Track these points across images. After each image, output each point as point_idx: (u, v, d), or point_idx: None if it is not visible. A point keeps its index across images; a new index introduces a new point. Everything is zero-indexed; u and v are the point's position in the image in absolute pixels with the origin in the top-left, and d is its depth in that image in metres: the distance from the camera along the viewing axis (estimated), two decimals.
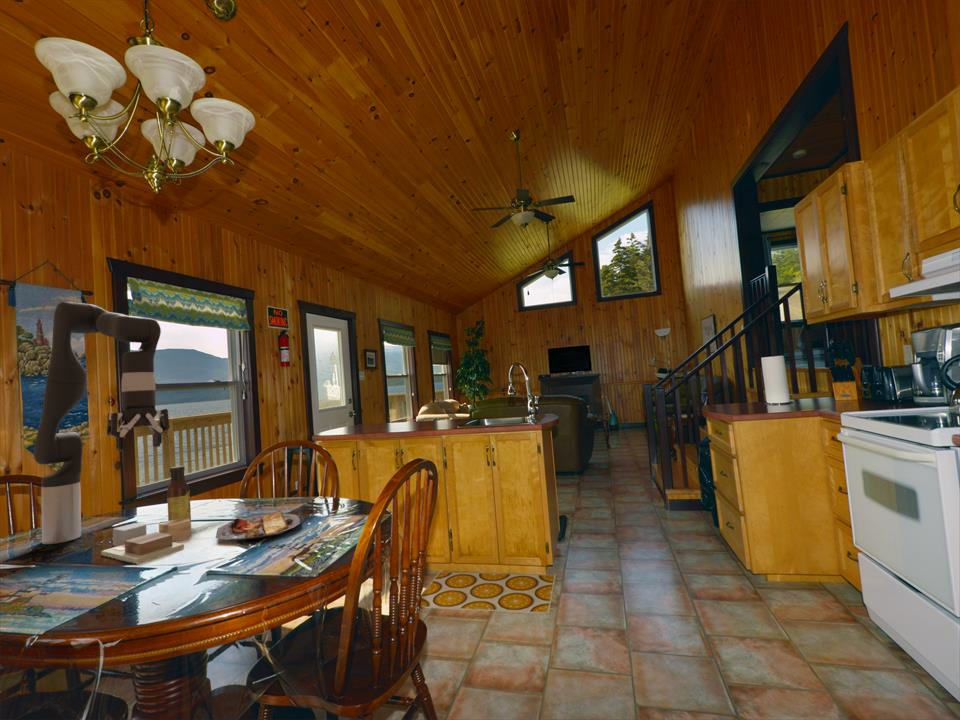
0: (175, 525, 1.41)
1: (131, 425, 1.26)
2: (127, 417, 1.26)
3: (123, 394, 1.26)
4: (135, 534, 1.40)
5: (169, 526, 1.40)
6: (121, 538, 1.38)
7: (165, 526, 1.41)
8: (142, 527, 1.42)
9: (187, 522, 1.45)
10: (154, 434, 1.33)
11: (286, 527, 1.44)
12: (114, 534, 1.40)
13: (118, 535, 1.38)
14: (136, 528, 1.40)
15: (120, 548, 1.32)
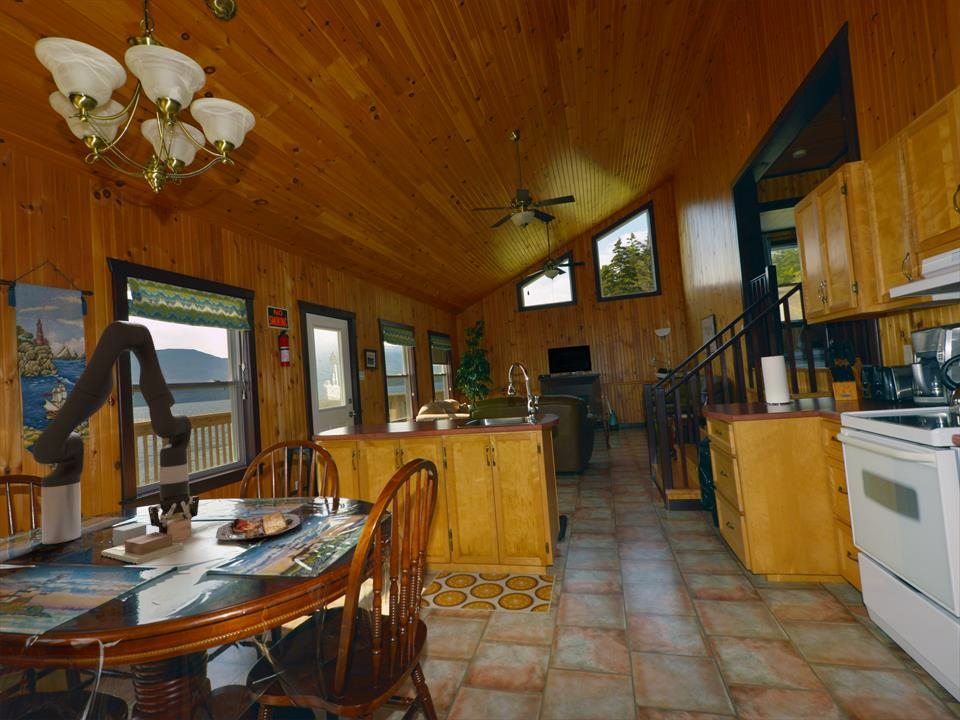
0: (175, 525, 1.41)
1: (168, 514, 1.41)
2: (165, 507, 1.41)
3: (161, 486, 1.41)
4: (135, 534, 1.40)
5: (169, 526, 1.40)
6: (121, 538, 1.38)
7: None
8: (142, 527, 1.42)
9: (187, 522, 1.45)
10: None
11: (286, 527, 1.44)
12: (114, 534, 1.40)
13: (118, 535, 1.38)
14: (136, 528, 1.40)
15: (120, 548, 1.32)
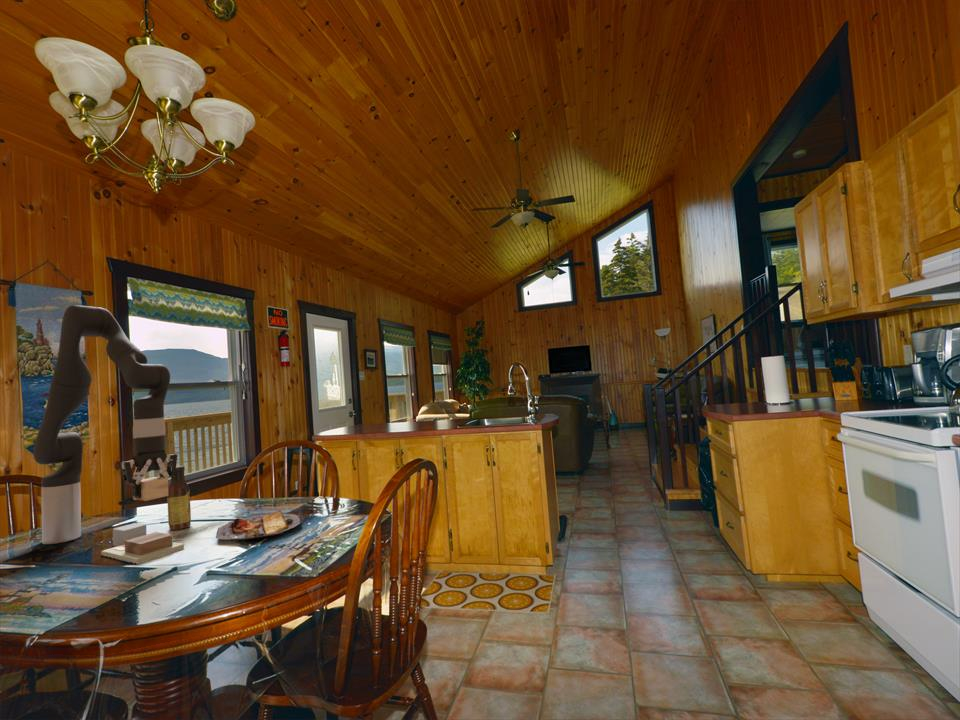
0: (150, 482, 1.30)
1: (143, 470, 1.30)
2: (139, 463, 1.29)
3: (135, 440, 1.30)
4: (135, 534, 1.40)
5: (144, 483, 1.29)
6: (121, 538, 1.38)
7: None
8: (142, 527, 1.42)
9: (164, 480, 1.33)
10: None
11: (286, 527, 1.44)
12: (114, 534, 1.40)
13: (118, 535, 1.38)
14: (136, 528, 1.40)
15: (120, 548, 1.32)
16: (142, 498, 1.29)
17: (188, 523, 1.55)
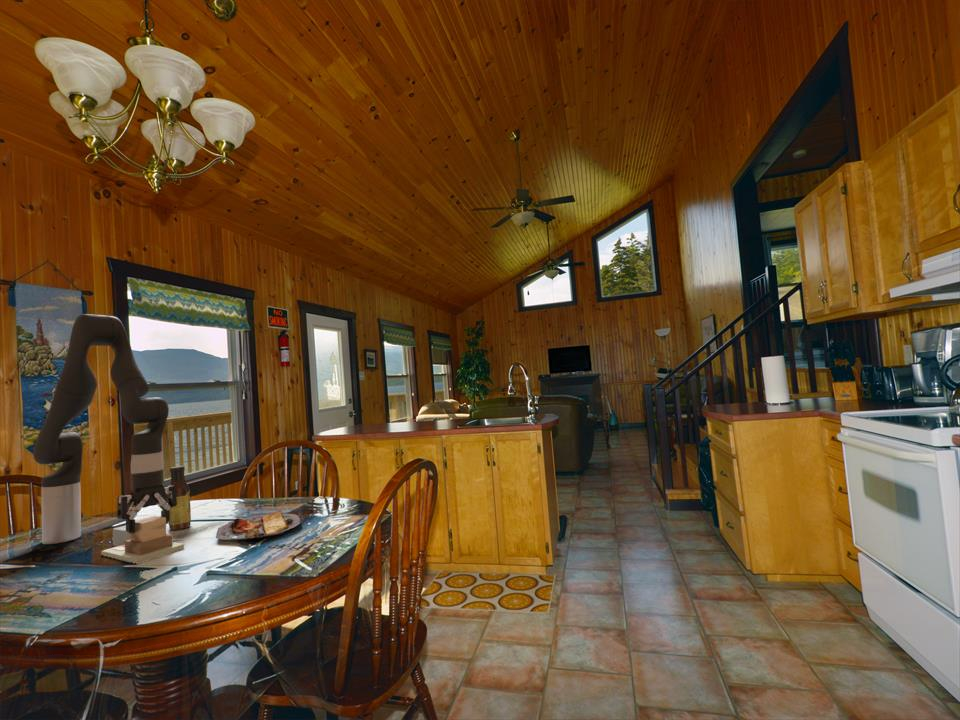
0: (147, 523, 1.29)
1: (140, 507, 1.28)
2: (136, 499, 1.28)
3: (132, 476, 1.29)
4: None
5: (141, 524, 1.28)
6: (121, 538, 1.38)
7: (137, 524, 1.29)
8: None
9: (162, 520, 1.32)
10: (162, 512, 1.35)
11: (286, 527, 1.44)
12: (114, 534, 1.39)
13: (119, 535, 1.38)
14: None
15: (120, 548, 1.32)
16: (139, 539, 1.28)
17: (188, 523, 1.55)
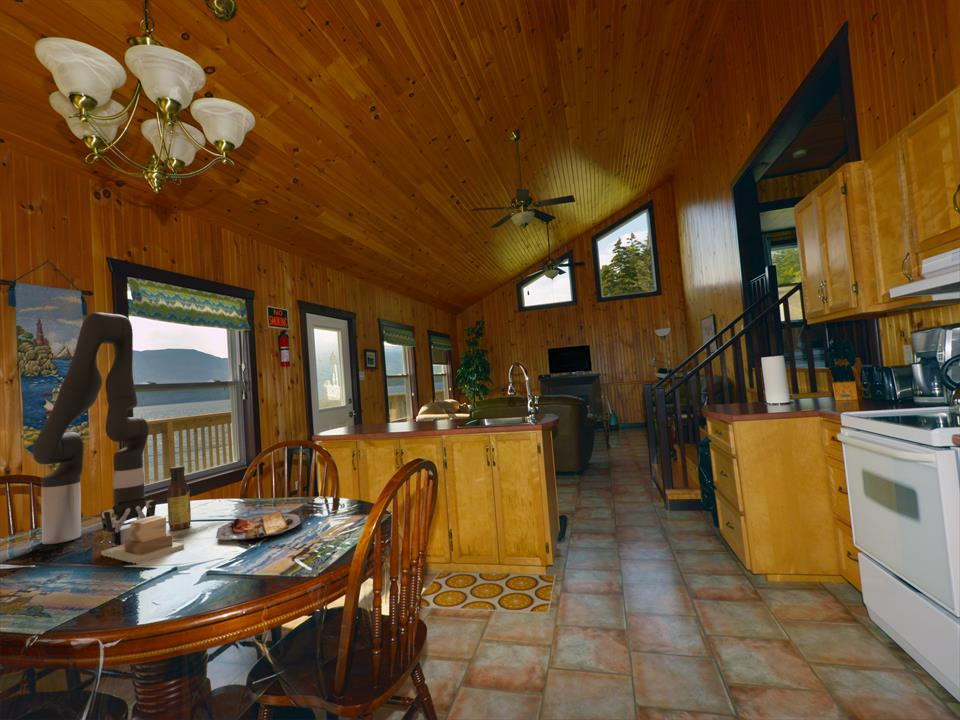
0: (147, 523, 1.29)
1: (122, 519, 1.38)
2: (118, 512, 1.38)
3: (114, 491, 1.38)
4: None
5: (141, 524, 1.28)
6: (121, 537, 1.38)
7: (137, 524, 1.29)
8: None
9: (162, 520, 1.32)
10: None
11: (286, 527, 1.44)
12: None
13: None
14: None
15: (120, 548, 1.32)
16: (139, 539, 1.28)
17: (188, 523, 1.55)
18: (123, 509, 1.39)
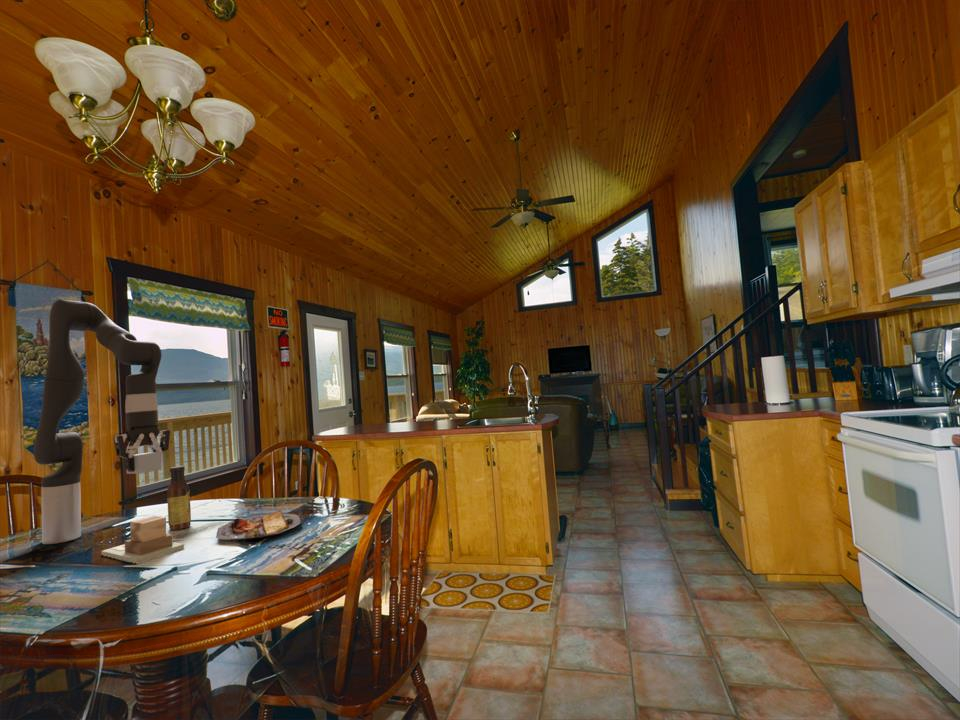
0: (147, 523, 1.29)
1: (135, 444, 1.32)
2: (131, 437, 1.32)
3: (127, 415, 1.32)
4: (150, 461, 1.34)
5: (141, 524, 1.28)
6: (135, 463, 1.31)
7: (137, 524, 1.29)
8: (157, 454, 1.35)
9: (162, 520, 1.32)
10: None
11: (286, 527, 1.44)
12: None
13: None
14: (151, 454, 1.34)
15: (120, 548, 1.32)
16: (139, 539, 1.28)
17: (188, 523, 1.55)
18: (136, 435, 1.33)
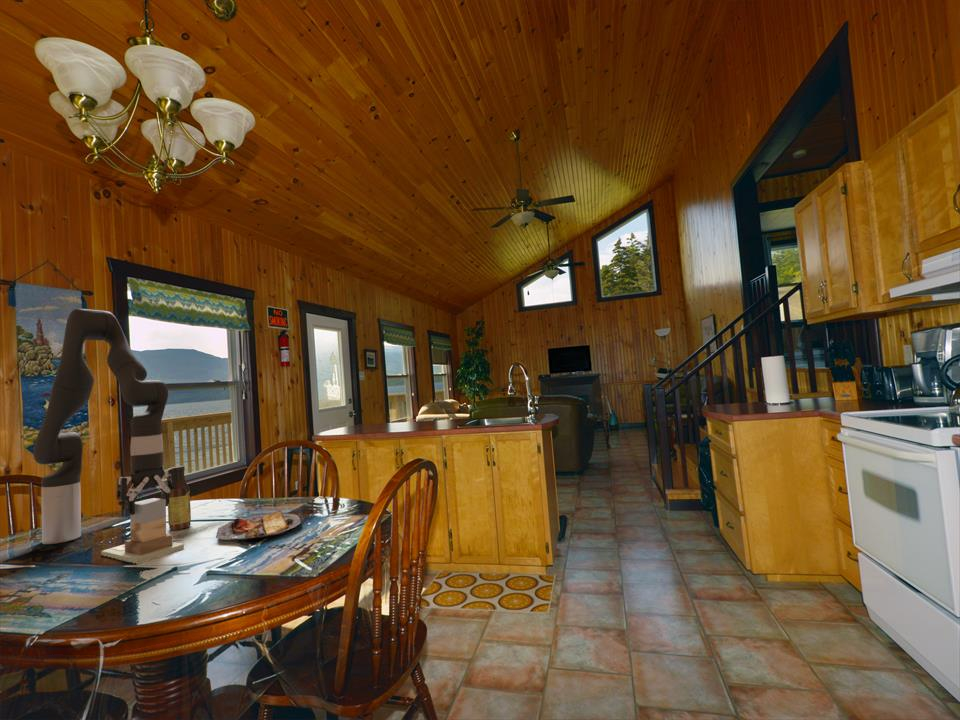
0: (147, 523, 1.29)
1: (140, 488, 1.29)
2: (136, 481, 1.28)
3: (132, 458, 1.29)
4: (154, 509, 1.30)
5: (141, 524, 1.28)
6: (139, 513, 1.28)
7: (137, 524, 1.29)
8: (161, 502, 1.32)
9: (162, 520, 1.32)
10: (162, 494, 1.35)
11: (287, 527, 1.44)
12: None
13: (136, 510, 1.29)
14: (155, 502, 1.31)
15: (120, 548, 1.32)
16: (139, 539, 1.28)
17: (188, 523, 1.55)
18: (141, 478, 1.30)
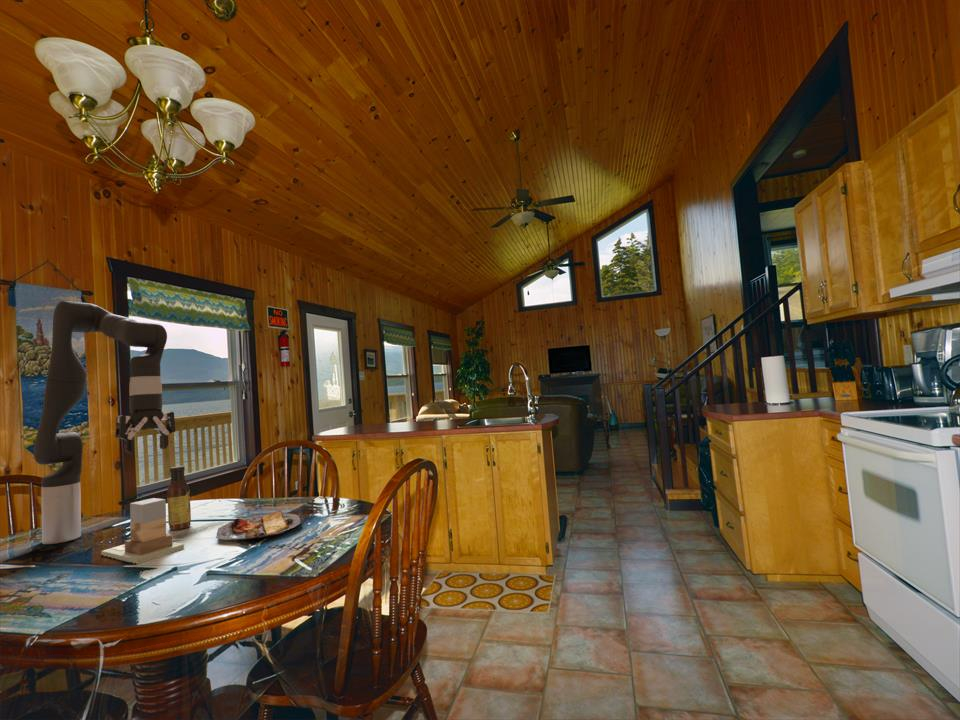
0: (147, 523, 1.29)
1: (139, 428, 1.29)
2: (135, 420, 1.29)
3: (131, 397, 1.30)
4: (154, 509, 1.30)
5: (141, 524, 1.28)
6: (139, 513, 1.28)
7: (137, 524, 1.29)
8: (161, 502, 1.32)
9: (162, 520, 1.32)
10: (161, 436, 1.36)
11: (287, 527, 1.44)
12: (132, 509, 1.30)
13: (136, 510, 1.29)
14: (155, 502, 1.31)
15: (120, 548, 1.32)
16: (139, 539, 1.28)
17: (188, 523, 1.55)
18: (140, 418, 1.30)
